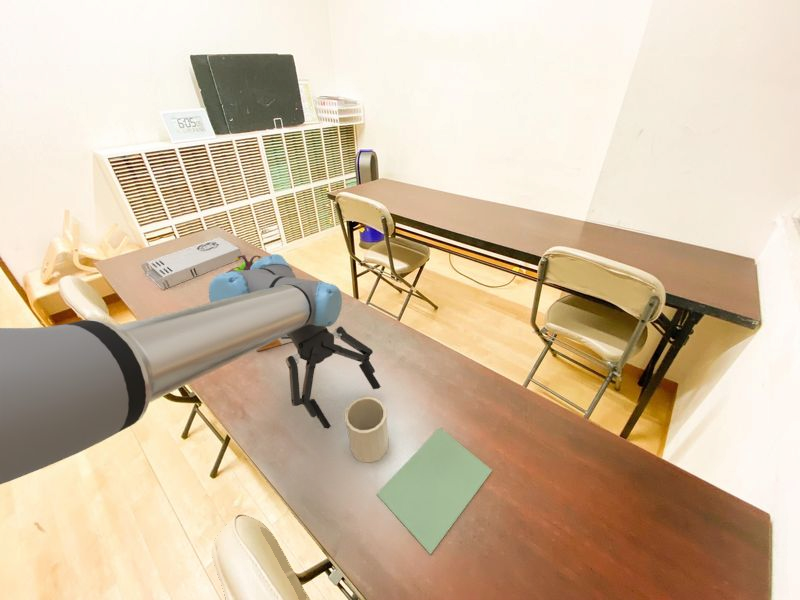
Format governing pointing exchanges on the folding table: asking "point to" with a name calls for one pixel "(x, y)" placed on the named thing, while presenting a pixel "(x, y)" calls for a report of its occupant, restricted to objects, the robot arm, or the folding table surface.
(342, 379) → the folding table surface
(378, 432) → the cup
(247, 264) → the plant
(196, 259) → the power supply unit
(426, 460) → the place mat
